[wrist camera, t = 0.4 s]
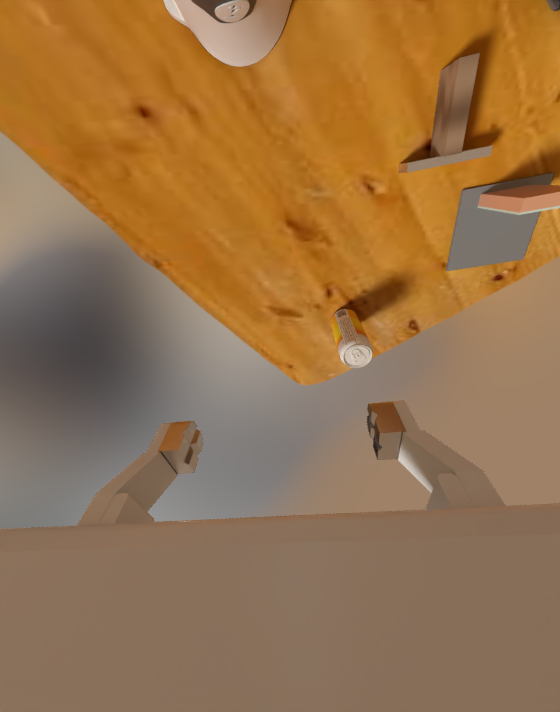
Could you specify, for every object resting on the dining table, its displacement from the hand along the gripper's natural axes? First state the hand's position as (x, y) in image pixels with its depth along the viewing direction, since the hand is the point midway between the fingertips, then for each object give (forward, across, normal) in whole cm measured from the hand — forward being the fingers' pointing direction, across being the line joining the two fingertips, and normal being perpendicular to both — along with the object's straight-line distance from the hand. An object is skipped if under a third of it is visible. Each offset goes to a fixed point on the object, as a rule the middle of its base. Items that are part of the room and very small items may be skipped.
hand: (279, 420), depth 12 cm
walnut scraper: (+46, -26, -12) cm, 54 cm away
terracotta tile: (+45, -38, 0) cm, 59 cm away
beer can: (+46, -10, +20) cm, 51 cm away
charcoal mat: (+46, -38, +5) cm, 60 cm away
